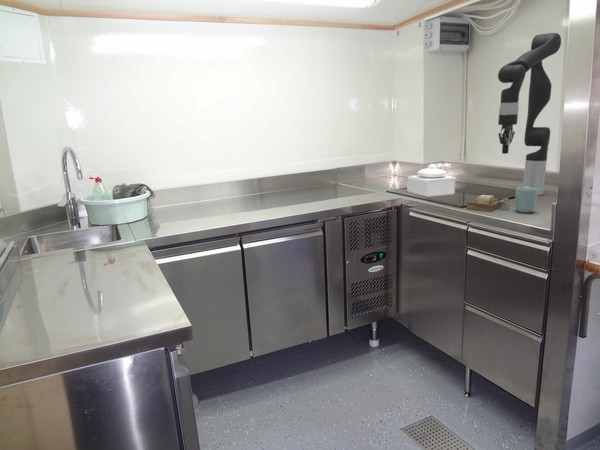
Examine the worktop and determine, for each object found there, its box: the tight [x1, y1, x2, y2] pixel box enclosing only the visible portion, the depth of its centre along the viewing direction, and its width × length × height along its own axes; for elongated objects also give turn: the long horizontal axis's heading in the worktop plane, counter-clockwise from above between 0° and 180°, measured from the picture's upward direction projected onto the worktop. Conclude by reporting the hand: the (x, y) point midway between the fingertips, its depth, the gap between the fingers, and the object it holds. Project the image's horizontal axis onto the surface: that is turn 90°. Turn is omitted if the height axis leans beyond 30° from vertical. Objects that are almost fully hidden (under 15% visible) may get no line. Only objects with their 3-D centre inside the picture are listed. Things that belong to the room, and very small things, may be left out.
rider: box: [477, 194, 495, 204], centre depth 190 cm, size 5×5×5 cm
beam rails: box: [466, 197, 510, 213], centre depth 192 cm, size 22×10×3 cm, turn 136°
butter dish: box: [406, 163, 457, 198], centre depth 228 cm, size 18×18×16 cm
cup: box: [514, 186, 538, 214], centre depth 179 cm, size 8×8×10 cm
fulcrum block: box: [497, 200, 510, 211], centre depth 186 cm, size 4×3×4 cm
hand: (505, 153), depth 192 cm, fingers closed
